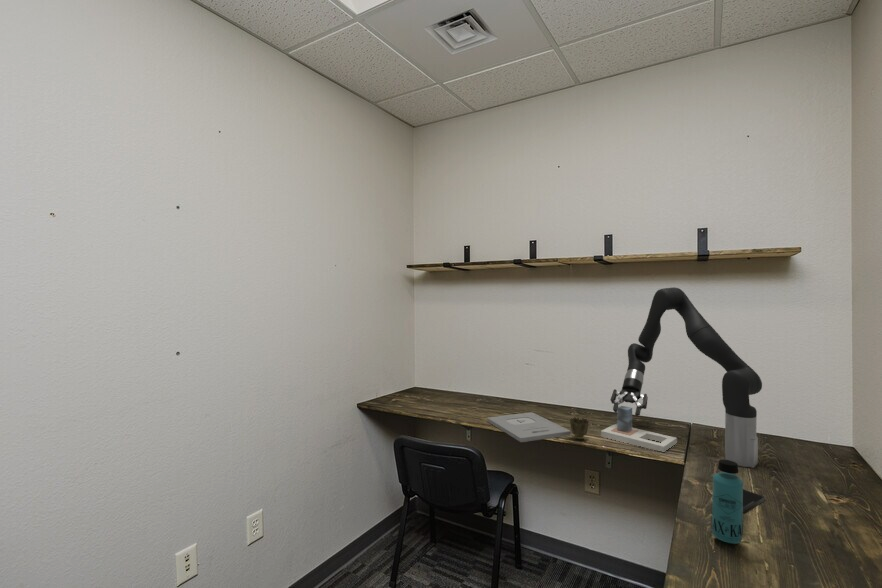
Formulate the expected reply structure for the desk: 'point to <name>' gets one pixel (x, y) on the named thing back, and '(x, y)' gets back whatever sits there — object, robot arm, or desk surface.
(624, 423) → the blue block
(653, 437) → the puzzle board
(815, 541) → the desk surface
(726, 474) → the beverage bottle
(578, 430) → the dark brown textured piece
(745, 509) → the phone
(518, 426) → the award plaque
